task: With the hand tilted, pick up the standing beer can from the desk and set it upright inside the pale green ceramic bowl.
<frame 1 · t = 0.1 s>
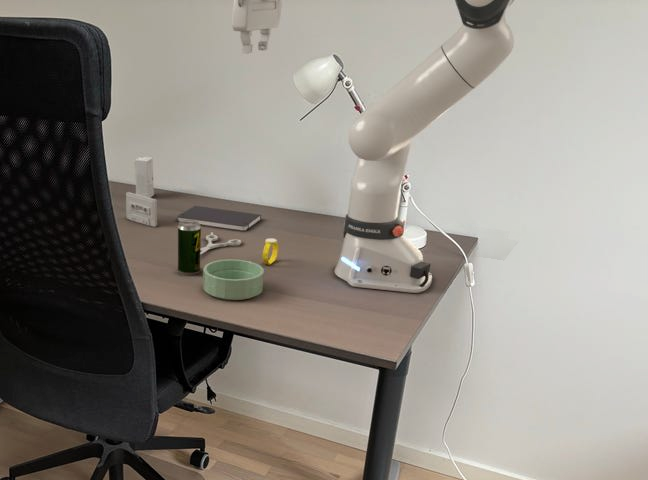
hand: (255, 51, 167), 48 cm above the table, tool pointing down, fingers open, 8 cm apart
notebook: (218, 221, 215), on the table
scissors: (209, 248, 193), on the table
beer can: (188, 272, 177), on the table
watch: (269, 263, 183), on the table
bowl: (232, 290, 167), on the table
cassette: (141, 223, 213), on the table
cosmetic box: (144, 197, 238), on the table
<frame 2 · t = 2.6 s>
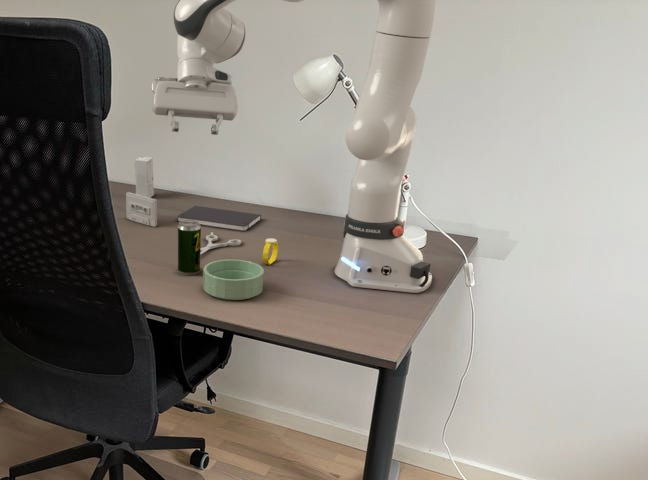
hand: (195, 132, 175), 30 cm above the table, tool tilted 40°, fingers open, 8 cm apart
nothing on the table moved.
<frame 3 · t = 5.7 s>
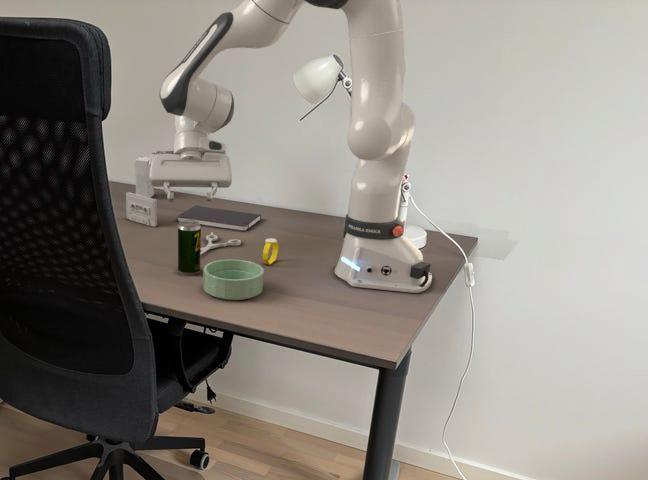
hand: (190, 200, 179), 15 cm above the table, tool tilted 45°, fingers open, 8 cm apart
nothing on the table moved.
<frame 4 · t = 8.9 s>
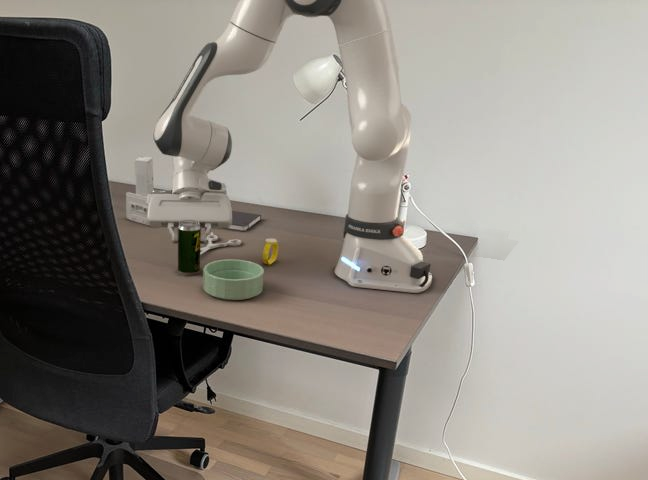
hand: (189, 242, 174), 7 cm above the table, tool tilted 45°, fingers closed on beer can, 5 cm apart
beer can: (188, 272, 177), on the table, touching gripper
everything else where it was.
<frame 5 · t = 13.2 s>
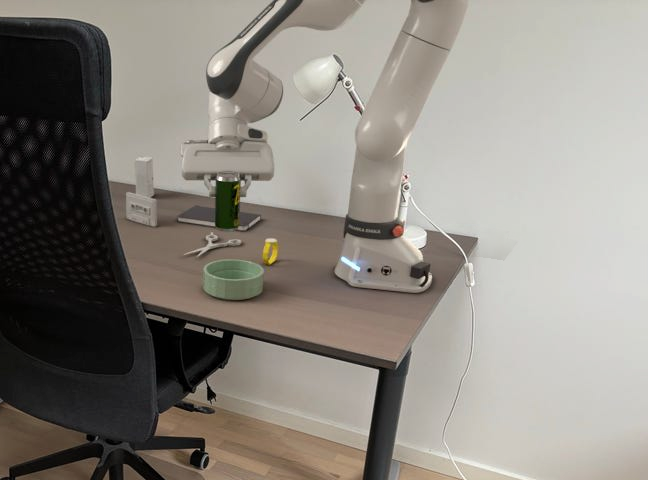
hand: (227, 195, 160), 21 cm above the table, tool tilted 45°, fingers closed on beer can, 5 cm apart
beer can: (226, 229, 163), point 13 cm above the table, touching gripper
everything else where it was.
when the fingers open (8 cm above the table, at t = 17.6 s): beer can stays where it is, resting on bowl.
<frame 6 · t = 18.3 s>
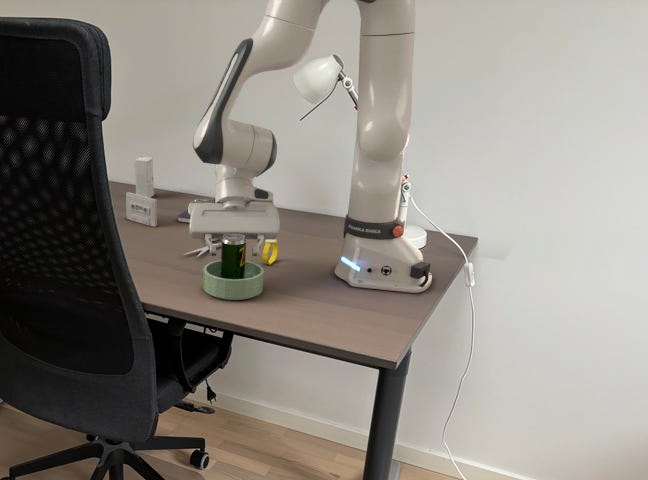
hand: (234, 255, 163), 8 cm above the table, tool tilted 45°, fingers open, 8 cm apart
beer can: (232, 288, 167), resting on bowl
everything else where it was.
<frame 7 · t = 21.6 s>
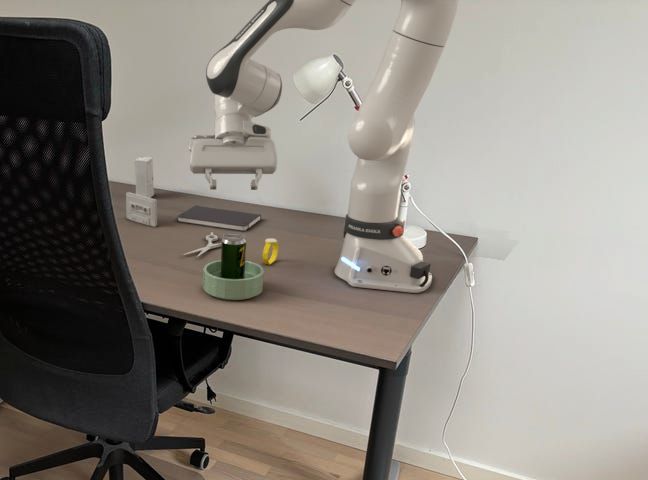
hand: (233, 188, 170), 20 cm above the table, tool tilted 45°, fingers open, 8 cm apart
nothing on the table moved.
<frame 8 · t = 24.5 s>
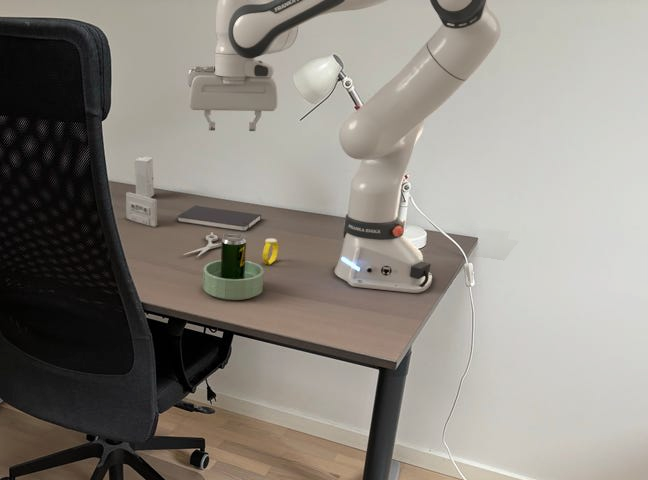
hand: (232, 130, 173), 31 cm above the table, tool pointing down, fingers open, 8 cm apart
nothing on the table moved.
at the end: beer can inside the target area in the bowl (0.2 cm from its centre), point 0.4 cm above the bowl's base; beer can tilted 0°; the gripper is holding nothing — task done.
